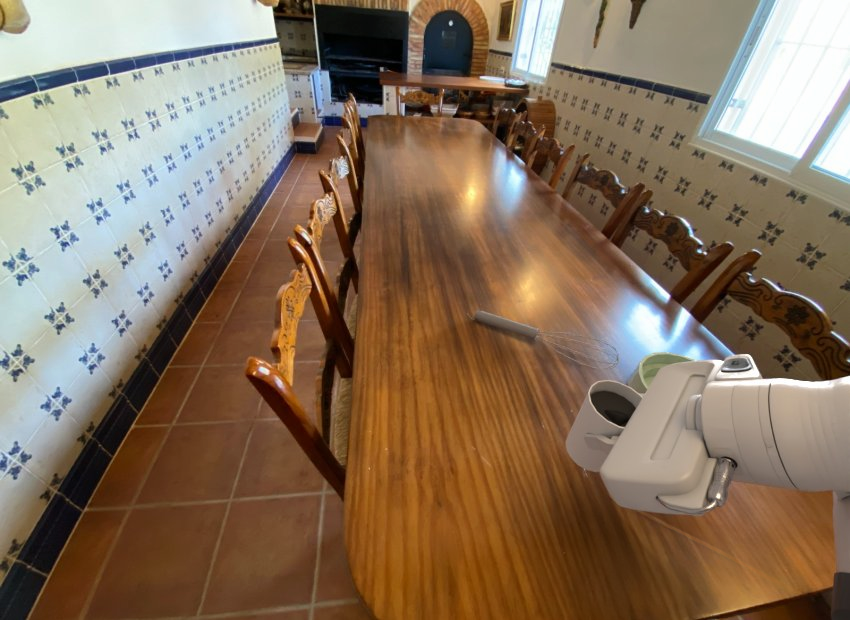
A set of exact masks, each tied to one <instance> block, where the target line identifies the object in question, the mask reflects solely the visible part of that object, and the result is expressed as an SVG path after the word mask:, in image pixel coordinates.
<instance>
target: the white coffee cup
mask: <svg viewBox="0 0 850 620" xmlns="http://www.w3.org/2000/svg"><path fill="white" fill-rule="evenodd" d="M642 398H643V397H642V396H641V395H640V394H639V393H637V392H636V391H635V390H633V389H632V388H631V387H629V386H627V385H626V384H625V383H622V382H619V381H615V380H610V379H606V380H597V381H596V382H593V384H591V385H590V387H589V389H588V392H587V393H586V396H585V398H584V400H583V403H582V404H581V406H580V409H579V411H578V413H577V415H576V417H575V419H574V422H573V423H572V426H571V428H570V430H569V432H568V434H567V437H566V439H565V442H564V444H565V450H566V452H567V454H568V456H569V458H570V459H571V460H572V461H573V462H574V463H575V464H576V465H577V466H579V467H581V468H583V469H584V470H586V471H589V472H593V473H600V468H601V466H602V465H603V463H604V461H605V460H606V458H607V456H608V455H607V454H606V453H605V452H603V451H601V450H592V449H590V448H589V447H588V446H587V444H586V442H585V440H584V436H585V435H586V434H587V433H592V434H597V435H603V436H605V437H607V438H609V439H611V438H612V436H620V434H621V433H622V431H623V429H624V428H625V426H626V424H627V423H628V421H629V419H630V418H631V416H632V414H633V413H634V411H635V409H636V408H637V406H638V404H639V403H640V401H641V399H642Z"/></svg>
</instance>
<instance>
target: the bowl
mask: <svg viewBox="0 0 850 620" xmlns="http://www.w3.org/2000/svg"><path fill="white" fill-rule="evenodd" d="M689 361H697V360H696V359H694V358H691V357H689V356H686V355H683V354H680V353H679V354H678V353H674V352H668V351H667V352H666V351H663V352H660V351H659V352H653V353H650V354H647V355H645V356H644V357H642V359H641V360H640V361H639V363H638V364H637V366H636V367H635V369H634V370H633V372H632V373H631V375H630V376H629V377H628V380H627V383H626V384H627V385H626V386H629V387H631V388H632V389H633V390H635V391H636V392H637V393H639V394H641V393H646V391H647V389H648V387H649V386H650V384H651V382H652V381H653V379H654V377H655V376H656V374H657V372H658V370H659V369H661V368H663V367H665V366H667V365H670V364H674V363H681V362H689Z"/></svg>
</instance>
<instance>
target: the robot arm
mask: <svg viewBox="0 0 850 620" xmlns="http://www.w3.org/2000/svg"><path fill="white" fill-rule="evenodd" d="M640 395H641V396H642V397H643V398H642V399H641V401H640V403H639V404H638V406H637V408H636V409H635V411H634V413H633V414H632V416H631V418H630V419H629V421H628V423H627V424H626V426H625V428H624V429H623V431H622V433H621V434H620V436H612V438H611V439H609V438H607V437H605V436H603V435H597V434H592V433H587V434H586V435H585V436H584V440H585V442H586V444H587V446H588V447H589V448H590V449H592V450H601V451H603V452H605V453H606V454H607V455H608V456H607V458H606V460H605V461H604V463H603V465H602V466H601V468H600V472H599V477H600V478H601V481H602V482H603V485H604V487H605V489H606V490H607V492H608V494H609V497H610V498H611V499H612V500H613V501H614V502H615V504H616V505H618V506H619V507H621V508H623V509H627V510H633V511H634V510H635V511H640V512H646V513H654V514H663V515H677V516H687V515H689V516H694V517H703V516H704V515H705V514H707V513H710V512H712V511H713V510H714V509H716V507H717V508H721V507H723V506H724V505H725V503H726V502H727V500H728V495H729V493H728V489H729V486H730V485H731V483H732V482H736V483H740V484H741V483H743V484H748V485H749V484H750V485H756V486H764V487H771V488H776V489H784V490H793V491H799V492H806V493H807V492H808V493H816V492H818V493H819V492H829V491H831V492H832V503H833V506H832V522H833V523H832V527H833V541H834V557H835V558H834V559H835V571H836V572H834V573H833V582H832V583H833V584H832V595H831V597H832V598H831V609H830V619H831V620H850V375H848V376H847V375H846V376H844V377H839V378H835V379H831V380H823V381H804V380H797V379H792V378H779V377H778V378H777V377H776V378H775V377H774V378H764V377H763V376H762V374H761V372H760V369H759V368H758V366H757V364H756V362H755V361H754V359H753V356H751V355H750V354H747V353H745V354H744V353H743V354H742V353H741V354H733V355H728V356H726V357H725V358H724V359H723V360H720V359H699V360H696V361H689V362H681V363H674V364H670V365H667V366H665V367H663V368H661V369H659V370H658V372H657V374H656V376H655V377H654V379H653V381H652V382H651V384H650V386H649V387H648V389H647V391H646V393H641V394H640Z"/></svg>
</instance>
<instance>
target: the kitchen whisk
mask: <svg viewBox="0 0 850 620" xmlns="http://www.w3.org/2000/svg"><path fill="white" fill-rule="evenodd" d="M471 310H473V311H475V310H476V311H475V313H474V317H471V316H470V315H469V311H471ZM466 314H467V316H468V318H470V319H471V320H472V321H477V322H479V323H481V324H484V325H488V326H491V327H493V328H496V329H499V330H502V331H505V332H508V333H512V334H515V335H518V336H521V337H524V338H527V339H529V340H533V341H536V339H537V340H538V341H540V342H541V343H543V344H544V345H546V346H547V347H549V348H550V349H552V350H553V351H555V352H557V353H559V354H560V355H562V356H564V357H566V358H568V359H570V360H571V361H573V362H576V363H578V364H579V365H582V366H585V367H588V368H591V369H597V370H603V371H606V370H612V369H614V368H616V367H617V365H618V364H619V362H620V357H619V355H620V354H619V353H618V351H617V348H615V346H614V345H612V344H611V343H609V342H607V341H605V340H603V339H599V338H597V337H593V336H588V335H584V334H577V333H574V334H573V333H571V332H565V335H568V336H574V337H580V338H585V339H592V340H593V341H594V340H595V341H598V342H600V343H603V344H605V345H607V346H610V348H612V349H613V350H614V351H615V352H612V351H610V350H608V349H606V348H604V347H601V346H598V345H595V344H591V343H589V342H584V341H579V340H576V339H573V338H571V339H570V338H567V337H563V336H557V334H558V335H564V332H563V331H562V332H559V331H540V332H539V329H540V328H537V327H534V326H531V325H528V324H525V323H522V322H518V321H514V320H511V319H508V318H505V317H502V316H499V315H496V314H492V313H489V312H486V311H483V310H479V309H478V308H470V309H468V311H467V312H466ZM552 334H556V335H552ZM544 337H548V338H552V339H556V340H561V341H565V342H568V343H571V344H572V343H573V344H576V345H580V346H583V347H587V348H590V349H593V350H596V351H599V352H601V353H604V354H607V355H609V356H611V357H613V358H614V359H616V361H614V362H613V361H607V360H603V359H600V358H596V357H593V356H590V355H587V354H584V353H583V352H580V351H579V352H578V351H576V350H574V349H571V348H568V347H566V346H564V345H562V344H561V345H560V344H558V343H555V342H553V341H551V340H548V339H546V338H544ZM546 342H547V343H546ZM577 342H578V343H577ZM548 343H549V344H551V345H553V346H555V347H559V348H560V349H563V350H565V351H567V352H570V353H572V354H574V355H577V356H579V357H582V358H584V359H588V360H590V361H594V362H597V363H601V364H606V363H607V365H608V364H613V365H612V366H609V367H607V368H606V367H605V368H599V367H595V366H592V365H588V364H585V363H583V362H581V361H578V360H576V359H574V358H572V357H570V356H568V355H567V354H564V353H563V352H560V351H559V350H557V349H556V348H554V347H552V346H550V345H549V344H548ZM581 343H582V344H581ZM585 344H586V345H585ZM588 345H590V346H588ZM591 346H593V347H591ZM594 347H597V348H594ZM598 348H599V349H598ZM600 349H602V350H600ZM603 350H605V351H603ZM608 352H609V353H608ZM610 353H611V354H610ZM615 353H616V354H615Z"/></svg>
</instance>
